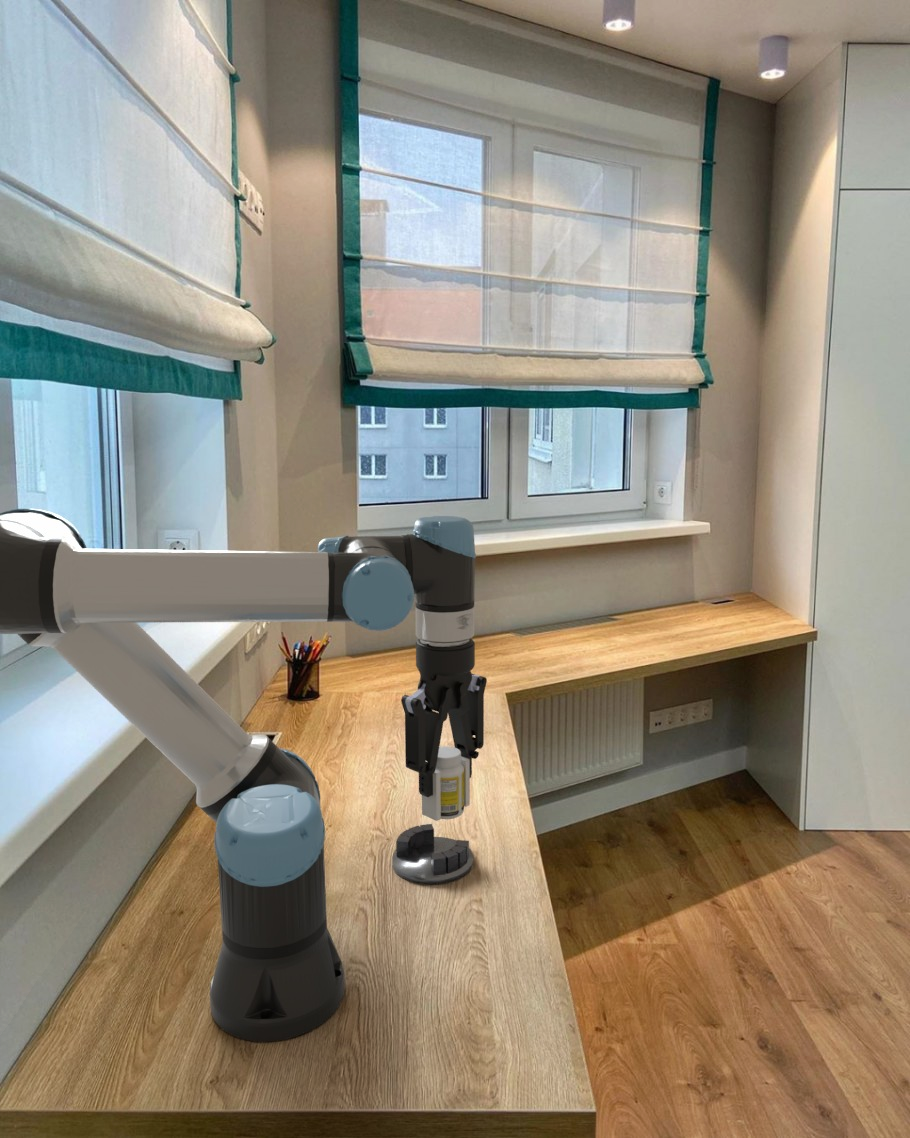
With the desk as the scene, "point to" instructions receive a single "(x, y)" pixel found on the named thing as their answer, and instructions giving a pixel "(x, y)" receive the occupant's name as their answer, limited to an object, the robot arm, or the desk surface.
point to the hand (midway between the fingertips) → (446, 809)
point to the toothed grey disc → (430, 857)
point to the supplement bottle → (451, 782)
